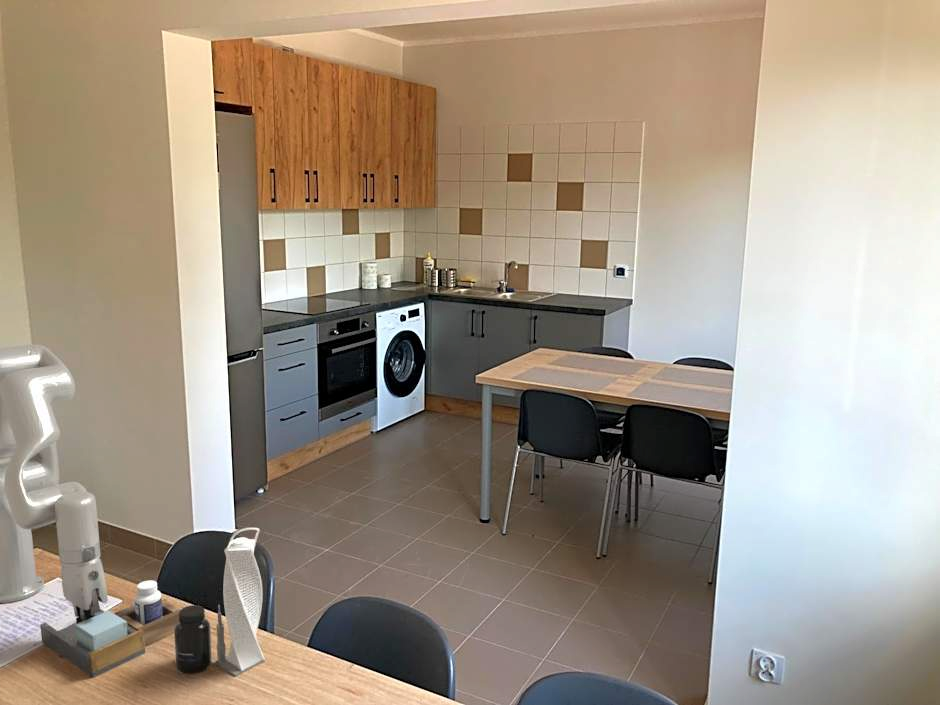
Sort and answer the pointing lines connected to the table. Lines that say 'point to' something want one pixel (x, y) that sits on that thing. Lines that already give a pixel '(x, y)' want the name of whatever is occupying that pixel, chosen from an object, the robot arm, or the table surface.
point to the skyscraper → (240, 607)
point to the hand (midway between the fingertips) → (87, 633)
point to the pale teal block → (100, 631)
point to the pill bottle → (148, 602)
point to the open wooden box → (153, 622)
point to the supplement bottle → (192, 640)
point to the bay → (99, 658)
